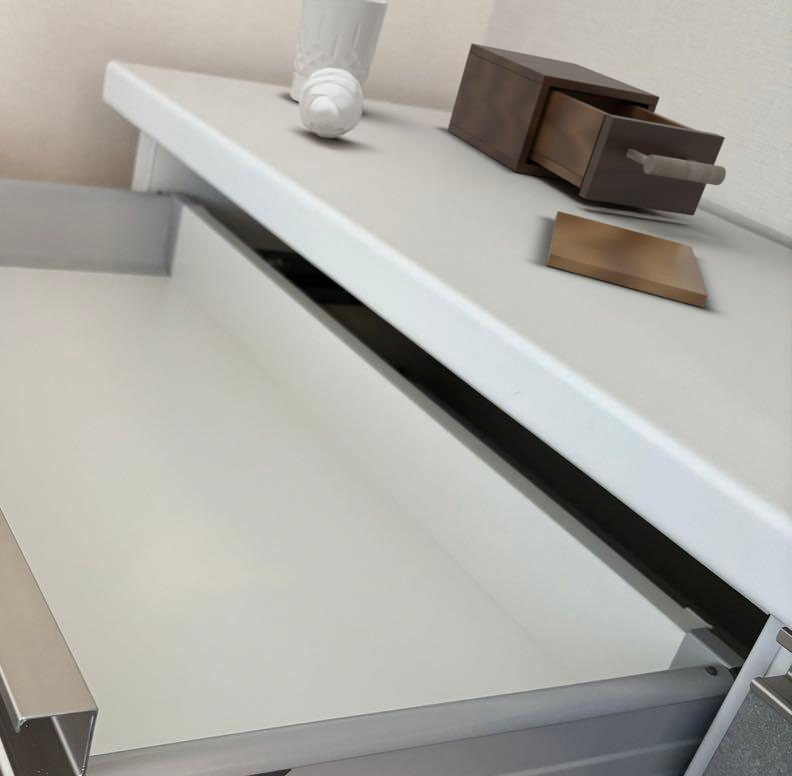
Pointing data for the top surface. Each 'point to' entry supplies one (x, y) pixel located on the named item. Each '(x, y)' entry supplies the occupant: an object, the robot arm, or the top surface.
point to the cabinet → (521, 101)
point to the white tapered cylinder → (337, 38)
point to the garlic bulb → (331, 102)
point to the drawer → (625, 152)
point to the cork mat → (626, 258)
